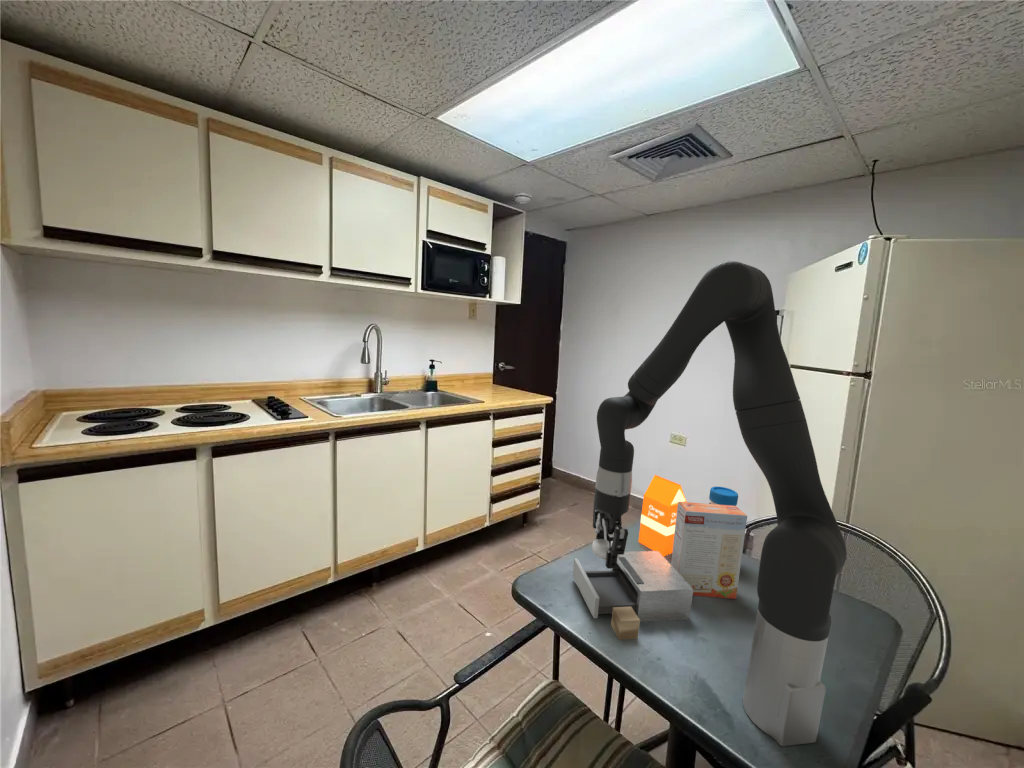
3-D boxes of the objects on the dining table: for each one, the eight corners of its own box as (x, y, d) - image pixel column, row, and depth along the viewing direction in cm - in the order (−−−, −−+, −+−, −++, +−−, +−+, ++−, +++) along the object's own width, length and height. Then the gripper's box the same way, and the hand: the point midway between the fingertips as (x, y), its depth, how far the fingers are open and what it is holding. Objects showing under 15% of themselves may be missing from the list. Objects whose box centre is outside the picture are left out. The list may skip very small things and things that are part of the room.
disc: (597, 560, 88) (598, 553, 88) (588, 545, 94) (589, 538, 94) (624, 559, 89) (624, 552, 89) (613, 544, 95) (613, 538, 95)
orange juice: (663, 556, 113) (672, 487, 110) (637, 541, 120) (645, 476, 117) (680, 549, 117) (689, 482, 114) (655, 535, 124) (662, 472, 122)
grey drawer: (646, 615, 87) (648, 596, 86) (593, 618, 85) (595, 598, 84) (618, 574, 101) (619, 557, 100) (572, 575, 99) (574, 558, 99)
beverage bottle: (729, 556, 115) (739, 488, 113) (734, 572, 107) (745, 499, 105) (696, 549, 118) (705, 482, 115) (698, 564, 110) (708, 493, 107)
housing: (689, 619, 88) (693, 588, 87) (637, 621, 86) (640, 590, 85) (654, 577, 103) (658, 550, 102) (609, 578, 101) (612, 551, 100)
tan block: (637, 638, 82) (639, 620, 81) (618, 639, 81) (620, 621, 80) (629, 624, 86) (631, 606, 85) (610, 625, 85) (612, 607, 84)
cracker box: (724, 584, 102) (736, 504, 99) (736, 600, 96) (749, 515, 93) (667, 579, 102) (677, 499, 100) (675, 595, 96) (686, 510, 94)
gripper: (585, 474, 96) (578, 542, 98) (609, 501, 82) (600, 579, 84) (616, 475, 97) (608, 541, 99) (644, 501, 83) (635, 578, 85)
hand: (605, 558), depth 92 cm, fingers closed on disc, 6 cm apart
